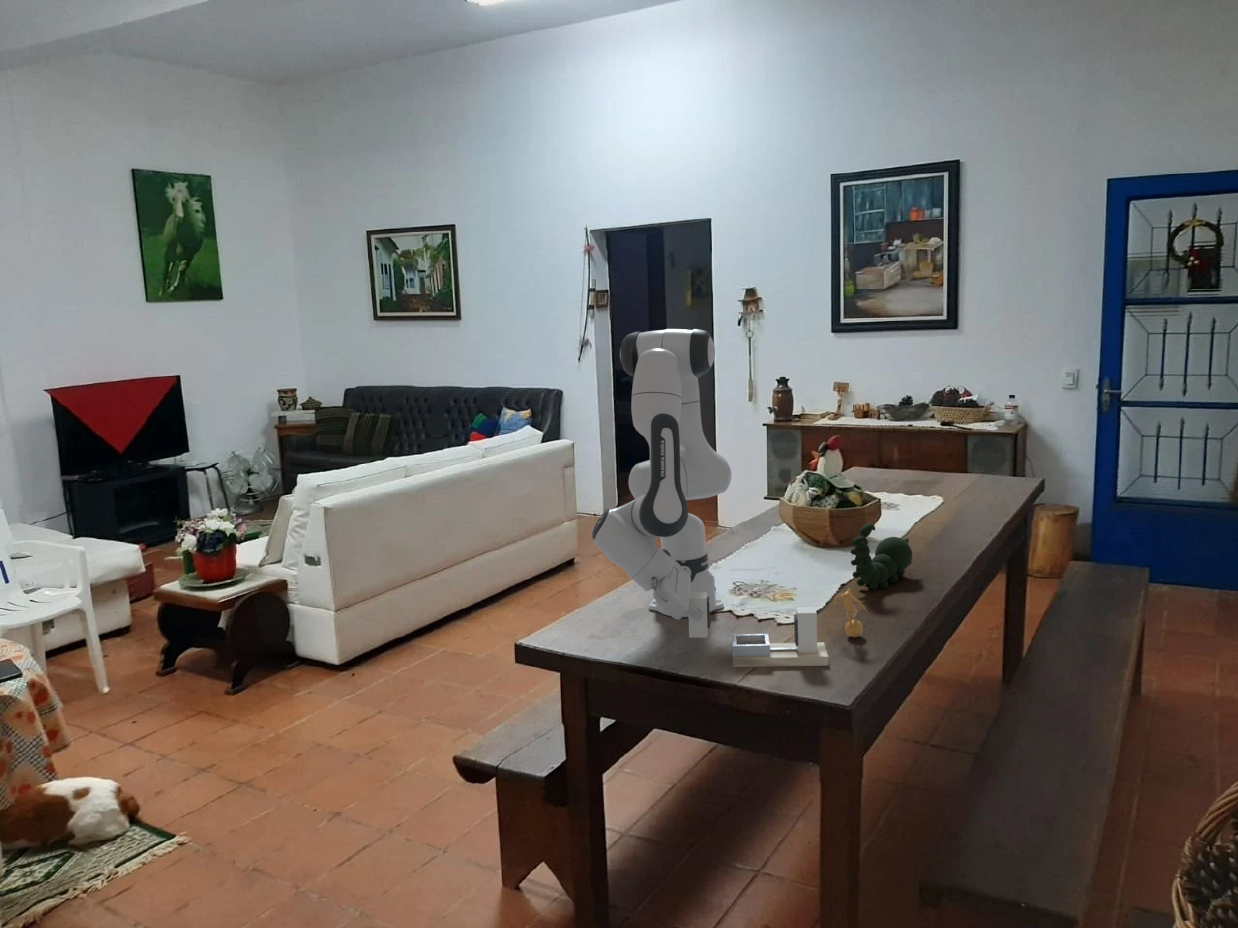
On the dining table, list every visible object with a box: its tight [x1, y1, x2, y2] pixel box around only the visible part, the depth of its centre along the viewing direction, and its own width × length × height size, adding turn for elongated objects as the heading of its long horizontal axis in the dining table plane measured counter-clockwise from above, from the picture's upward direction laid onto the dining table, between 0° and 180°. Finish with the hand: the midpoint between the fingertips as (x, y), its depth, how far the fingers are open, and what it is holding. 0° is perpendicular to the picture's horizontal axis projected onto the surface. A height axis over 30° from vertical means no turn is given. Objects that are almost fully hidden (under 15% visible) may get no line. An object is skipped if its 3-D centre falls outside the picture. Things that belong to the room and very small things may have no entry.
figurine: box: [833, 588, 868, 638], centre depth 217 cm, size 8×6×12 cm
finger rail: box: [731, 606, 829, 668], centre depth 208 cm, size 8×20×11 cm, turn 85°
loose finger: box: [687, 592, 711, 639], centre depth 208 cm, size 4×4×9 cm
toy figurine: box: [850, 523, 913, 590], centre depth 252 cm, size 9×19×25 cm
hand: (700, 612), depth 208 cm, fingers closed on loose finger, 3 cm apart
